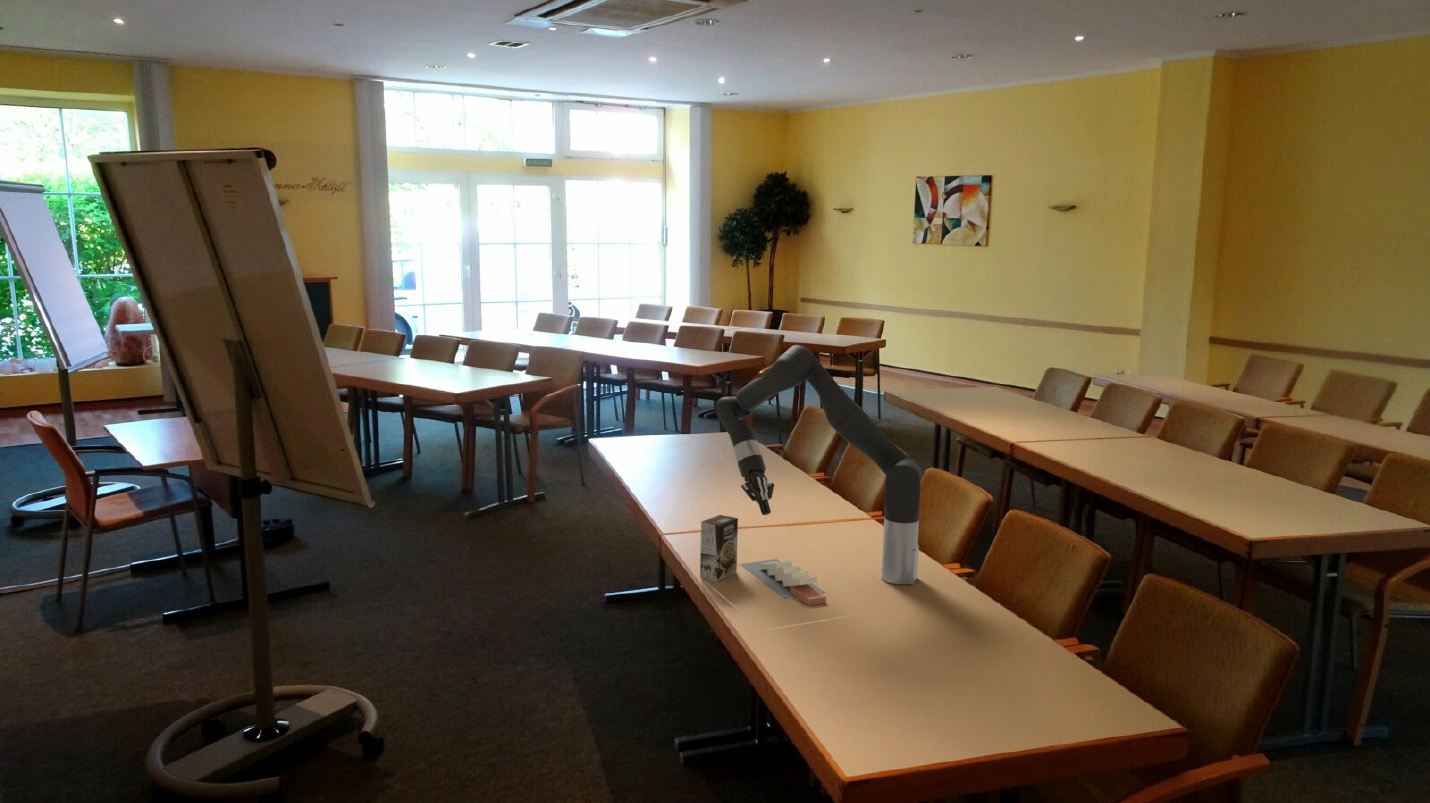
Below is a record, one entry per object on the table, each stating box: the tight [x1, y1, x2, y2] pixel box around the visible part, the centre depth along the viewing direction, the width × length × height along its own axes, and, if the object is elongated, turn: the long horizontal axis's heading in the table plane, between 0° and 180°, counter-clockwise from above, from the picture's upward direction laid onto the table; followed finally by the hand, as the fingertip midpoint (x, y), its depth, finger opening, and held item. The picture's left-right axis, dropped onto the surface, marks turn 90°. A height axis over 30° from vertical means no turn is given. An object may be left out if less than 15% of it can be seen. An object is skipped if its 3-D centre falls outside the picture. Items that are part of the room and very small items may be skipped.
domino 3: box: [775, 570, 810, 581], centre depth 255 cm, size 5×2×10 cm
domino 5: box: [790, 584, 827, 606], centre depth 248 cm, size 5×2×10 cm
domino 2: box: [767, 565, 802, 575], centre depth 260 cm, size 5×2×10 cm
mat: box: [739, 558, 826, 600], centre depth 261 cm, size 28×12×1 cm, turn 23°
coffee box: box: [699, 514, 739, 582], centre depth 262 cm, size 9×6×16 cm
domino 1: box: [759, 560, 793, 570], centre depth 264 cm, size 5×2×10 cm
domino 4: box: [782, 576, 818, 587], centre depth 251 cm, size 5×2×10 cm
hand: (766, 514), depth 274 cm, fingers closed
